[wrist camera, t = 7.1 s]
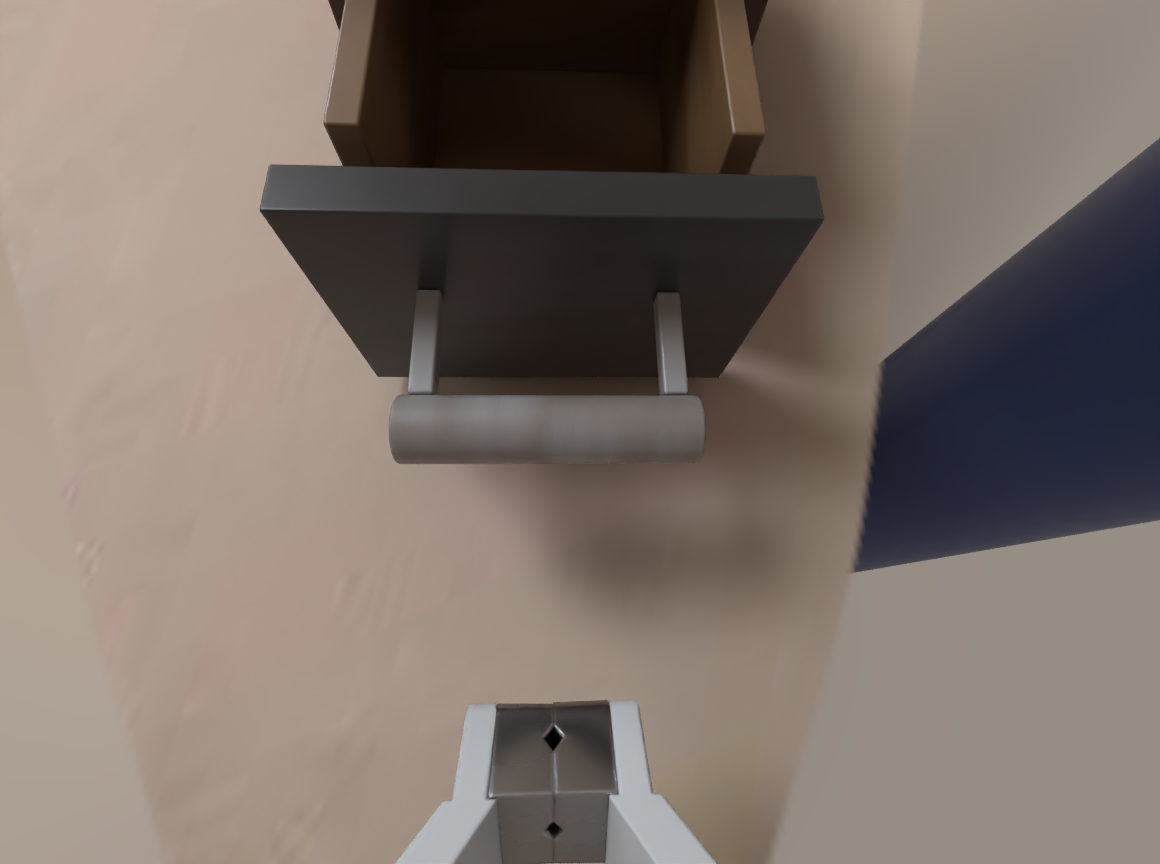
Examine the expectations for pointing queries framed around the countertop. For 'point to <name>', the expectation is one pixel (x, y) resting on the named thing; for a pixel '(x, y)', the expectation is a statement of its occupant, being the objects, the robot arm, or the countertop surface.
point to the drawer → (544, 217)
